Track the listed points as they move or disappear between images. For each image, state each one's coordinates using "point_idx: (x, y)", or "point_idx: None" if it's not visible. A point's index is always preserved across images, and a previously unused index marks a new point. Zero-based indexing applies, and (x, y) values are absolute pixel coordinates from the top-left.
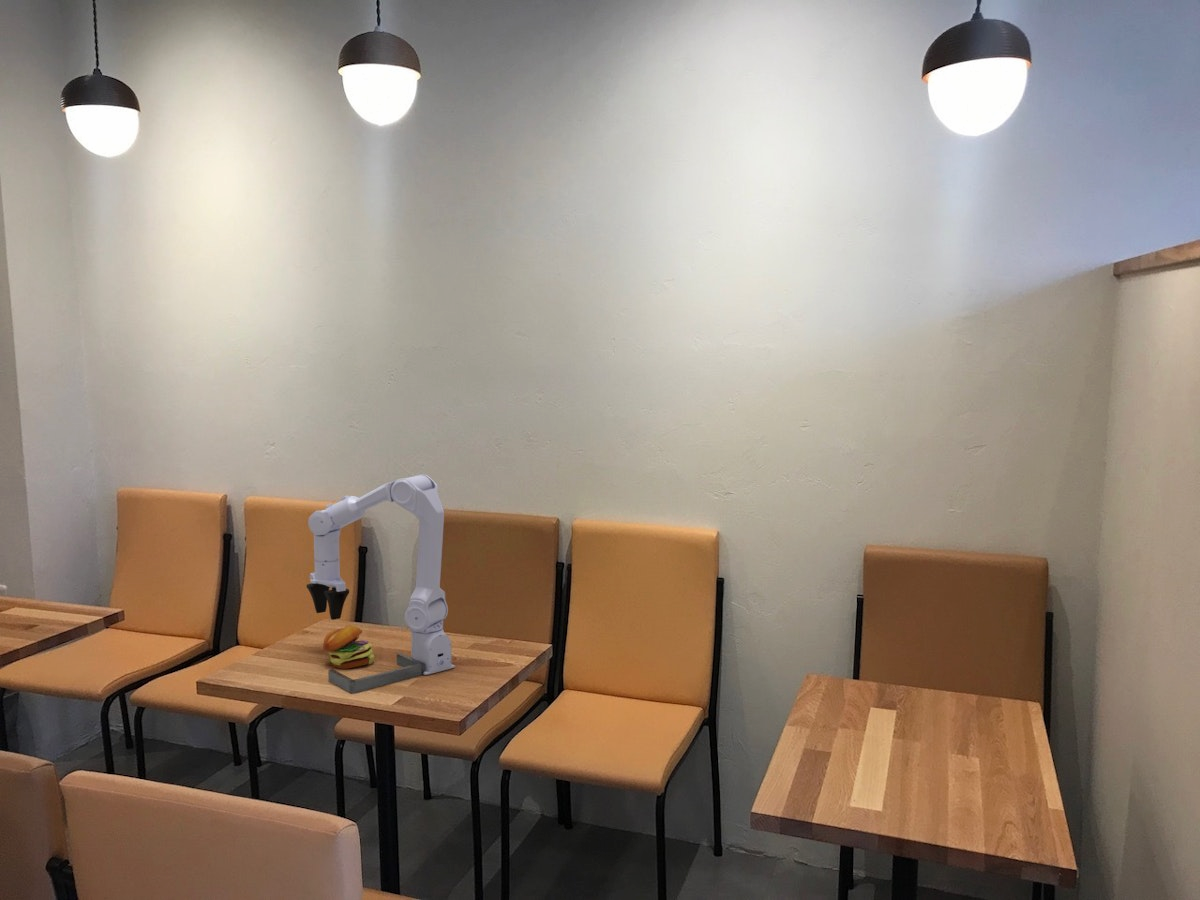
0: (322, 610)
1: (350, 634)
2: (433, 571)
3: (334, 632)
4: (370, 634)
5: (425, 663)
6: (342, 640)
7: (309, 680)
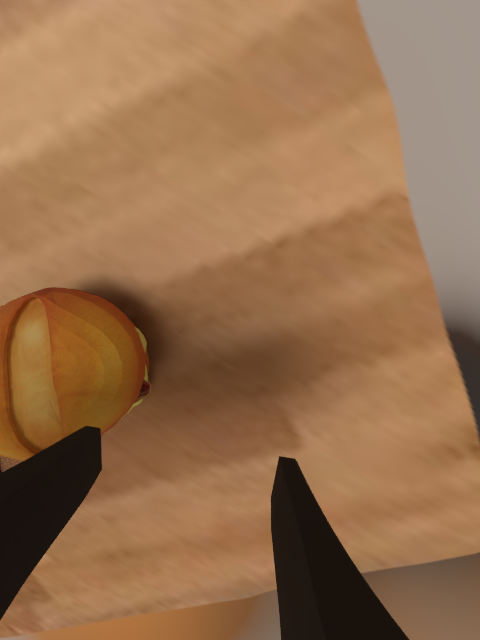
0: (275, 493)
1: None
2: None
3: (54, 366)
4: None
5: None
6: None
7: (27, 171)
